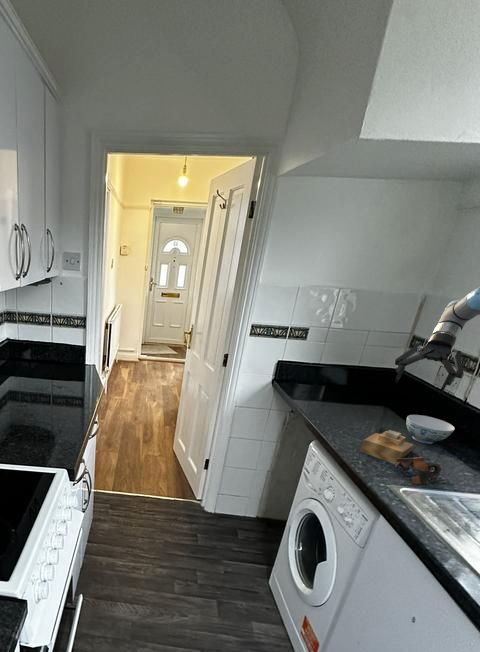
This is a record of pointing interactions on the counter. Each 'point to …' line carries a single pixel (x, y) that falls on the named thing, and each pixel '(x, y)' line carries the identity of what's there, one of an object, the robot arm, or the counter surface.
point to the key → (393, 434)
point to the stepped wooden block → (386, 447)
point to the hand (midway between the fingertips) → (418, 385)
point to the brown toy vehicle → (419, 468)
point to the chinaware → (428, 428)
